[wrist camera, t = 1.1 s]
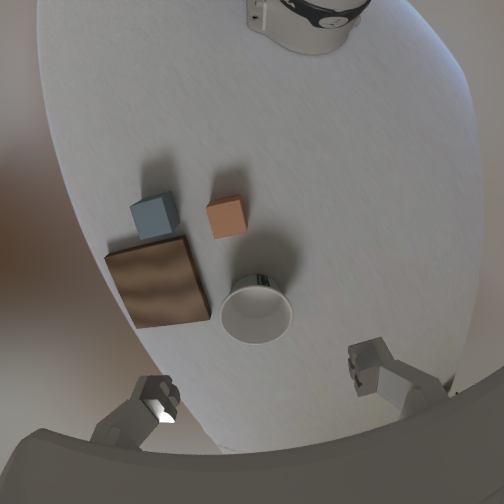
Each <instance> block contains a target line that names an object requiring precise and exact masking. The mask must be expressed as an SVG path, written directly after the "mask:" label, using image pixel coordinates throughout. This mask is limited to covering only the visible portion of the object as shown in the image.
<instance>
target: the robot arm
mask: <svg viewBox="0 0 504 504" xmlns="http://www.w3.org/2000/svg"><path fill="white" fill-rule="evenodd" d="M370 1H371V0H247V26H248V27H249V28H250V29H251V30H253V31H256V32H259V33H262V34H265V35H267V36H269V37H270V38H271V39H273V40H274V41H275V42H276V43H278V44H279V45H281V46H283V47H285V48H287V49H289V50H291V51H294V52H298V53H302V54H310V55H318V54H325V53H329V52H331V51H334V50H336V49H337V48H339V47H340V46H341V45H342V44H343V43H344V42H345V40H346V39H347V37H348V34H349V32H350V30H351V29H352V28H354V27H355V26H357V25H358V24H359V22H360V21H361V17H360V15H361V13H362V11H363V10H364V9H366V8H367V7H368V5H369V3H370ZM253 17H257V19H253ZM348 354H349V356H350V358H349V359H348V366H349V372H350V375H351V378H352V379H353V380H354V387H355V390H356V392H357V395H358V397H361V396H364V395H368V394H372V393H375V392H377V394H379V395H380V396H381V397H383V398H384V399H385V400H387V401H388V402H390V403H391V404H392V405H394V406H395V407H397V408H398V409H399V410H401V414H400V417H399V420H398V421H395V422H393V423H390V424H387V425H384V426H381V427H378V428H375V429H372V430H369V431H365V432H362V433H359V434H355V435H352V436H348V437H344V438H340V439H336V440H332V441H327V442H323V443H318V444H313V445H308V446H302V447H296V448H290V449H283V450H276V451H267V452H257V453H245V454H226V455H188V454H169V453H157V452H148V451H143V450H142V449H140V448H139V446H140V445H141V444H142V443H143V441H144V440H145V439H146V438H147V437H148V436H149V435H150V433H151V432H152V431H153V430H154V429H155V428H156V427H157V425H158V424H159V422H175V419H176V415H177V410H176V407H177V406H178V405H179V402H180V393H179V390H178V388H177V386H175V385H174V384H172V381H173V380H172V379H171V377H170V376H169V375H157V376H155V375H154V376H153V375H150V376H140V377H139V378H138V381H137V383H136V385H135V388H134V390H133V393H132V395H131V398H130V400H126V401H125V402H124V403H123V404H121V405H120V406H119V407H118V408H117V409H115V410H114V411H113V412H111V413H110V414H109V415H108V416H106V417H105V418H104V419H103V420H101V421H100V422H99V423H98V424H97V425H96V428H95V430H94V432H93V434H92V437H91V439H90V441H85V440H81V439H77V438H74V437H70V436H66V435H63V434H60V433H57V432H53V431H51V430H48V429H44V428H41V429H38V430H36V431H34V432H33V433H31V434H30V435H28V436H27V437H25V438H24V439H22V440H21V441H20V442H19V444H18V445H17V446H16V448H15V450H14V451H13V453H12V455H11V457H10V458H9V460H8V462H7V464H6V466H5V467H4V469H3V472H2V474H1V476H0V504H504V366H503V367H501V368H500V369H498V370H497V371H495V372H494V373H492V374H491V375H489V376H488V377H486V378H485V379H483V380H481V381H480V382H478V383H476V384H475V385H473V386H471V387H469V388H467V389H466V390H464V391H462V392H460V393H458V394H456V395H454V396H453V397H451V398H450V397H449V396H448V394H447V392H446V391H445V389H444V387H443V386H442V384H441V382H440V381H439V379H438V378H436V377H434V376H432V375H429V374H427V373H425V372H423V371H421V370H419V369H417V368H414V367H412V366H410V365H408V364H406V363H404V362H402V361H400V360H394V358H393V356H392V354H391V353H390V351H389V349H388V347H387V346H386V344H385V342H384V340H383V339H382V337H377V338H374V339H371V340H368V341H364V342H361V343H358V344H354V345H350V346H348Z"/></svg>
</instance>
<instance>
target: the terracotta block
mask: <svg viewBox="0 0 504 504" xmlns="http://www.w3.org/2000/svg"><path fill="white" fill-rule="evenodd" d="M206 210H207V214H208V217H209V221H210V225H211V228H212V232H213V236H214V239H217V238H222V237H227V236H231V235H236V234H241V233H246V232H247V227H248V224H247V219H246V215H245V211H244V207H243V202H242V198H241V195H237V196H232V197H228V198H224V199H219V200H215V201H211V202H209V204H208V205H207V206H206Z"/></svg>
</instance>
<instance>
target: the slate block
mask: <svg viewBox="0 0 504 504" xmlns="http://www.w3.org/2000/svg"><path fill="white" fill-rule="evenodd" d="M130 210H131V213H132V216H133V219H134V222H135V225H136V228H137V231H138V234H139V237H140V240H143V239H147V238H151V237H155V236H159V235H163V234H167V233H171V232H173V231H174V229H175V228H176V227H177V226H178V225H179V224H180V220H179V217H178V214H177V210H176V207H175V203H174V200H173V196H172V193H171V191H169V192H166V193H162V194H159V195H155V196H152V197H149V198H145V199H142V200H140V201H138V202H137V203H135V204H133V205H131V206H130Z"/></svg>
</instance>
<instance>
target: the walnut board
mask: <svg viewBox="0 0 504 504" xmlns="http://www.w3.org/2000/svg"><path fill="white" fill-rule="evenodd" d="M104 259H105V261H106V264H107V266H108V269H109V271H110V273H111V276H112V278H113V280H114V283H115V285H116V287H117V289H118V292H119V294H120V296H121V298H122V300H123V302H124V304H125V307H126V309H127V311H128V313H129V315H130V317H131V319H132V321H133V323H134V325H135V327H136V329H139V328H149V327H158V326H167V325H175V324H183V323H191V322H198V321H205V320H210V318H211V311H210V308H209V305H208V303H207V300H206V297H205V294H204V291H203V288H202V285H201V282H200V279H199V276H198V273H197V270H196V267H195V264H194V261H193V258H192V255H191V252H190V248H189V245H188V242H187V239H186V236H185V235H184V236H180V237H175V238H171V239H167V240H162V241H158V242H154V243H150V244H146V245H141V246H137V247H133V248H129V249H125V250H121V251H117V252H113V253H109V254H108V255H107V256H106V257H105V258H104Z"/></svg>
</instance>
